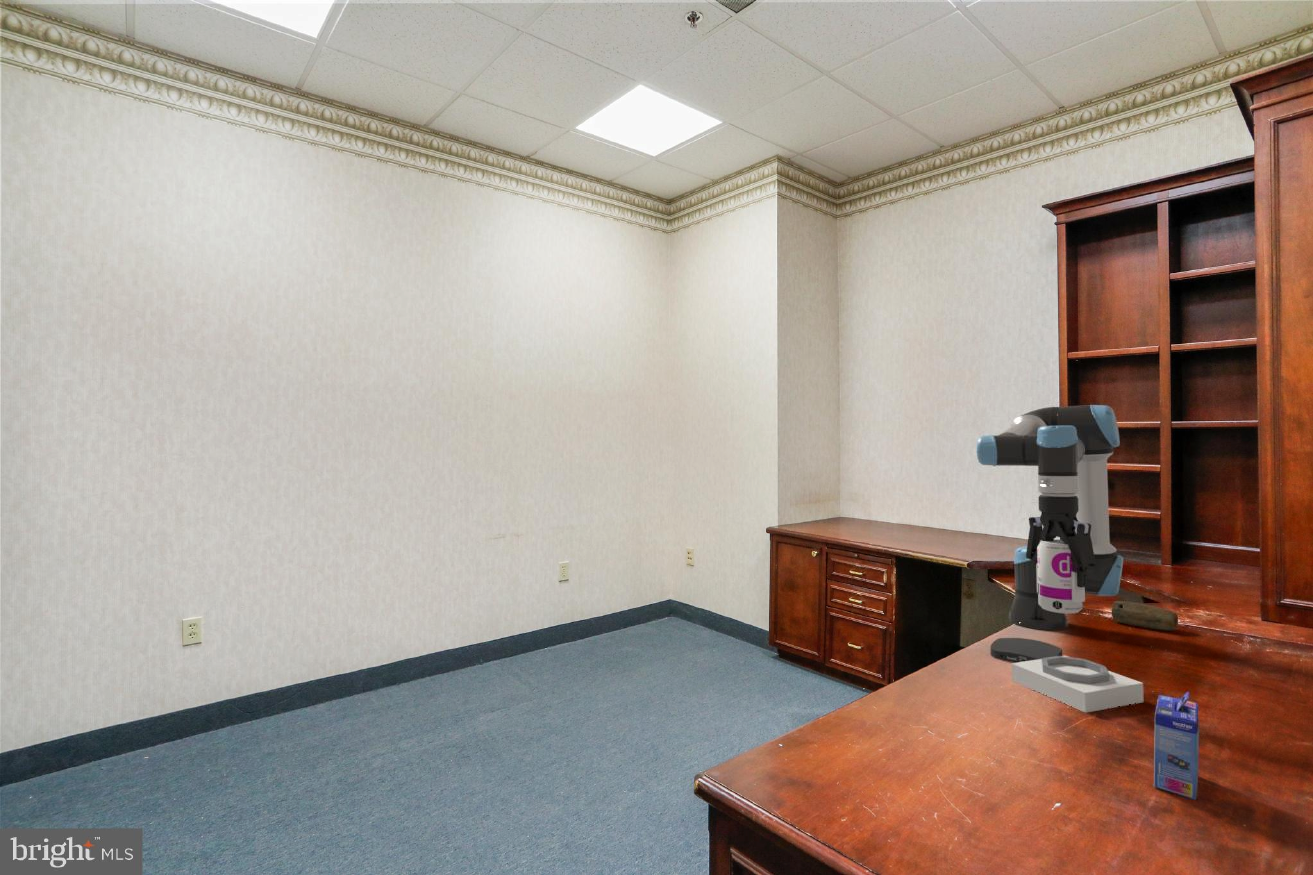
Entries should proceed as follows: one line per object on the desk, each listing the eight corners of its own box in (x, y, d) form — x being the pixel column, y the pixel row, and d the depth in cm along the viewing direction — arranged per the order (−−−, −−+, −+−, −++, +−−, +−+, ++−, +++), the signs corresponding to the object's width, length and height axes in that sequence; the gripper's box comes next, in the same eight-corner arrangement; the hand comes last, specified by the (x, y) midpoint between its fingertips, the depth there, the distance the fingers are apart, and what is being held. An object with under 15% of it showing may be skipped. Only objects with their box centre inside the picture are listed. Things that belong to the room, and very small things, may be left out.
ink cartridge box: (1199, 802, 96) (1197, 706, 96) (1153, 789, 100) (1151, 697, 100) (1200, 775, 104) (1198, 687, 104) (1157, 764, 107) (1155, 679, 107)
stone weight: (1110, 624, 186) (1110, 602, 186) (1115, 619, 191) (1114, 597, 191) (1175, 635, 176) (1175, 611, 176) (1179, 629, 180) (1178, 606, 181)
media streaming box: (1065, 656, 161) (1065, 644, 161) (1052, 671, 151) (1052, 659, 151) (1002, 644, 171) (1002, 633, 171) (986, 658, 161) (986, 646, 161)
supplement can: (1089, 615, 135) (1087, 545, 135) (1046, 613, 137) (1045, 544, 137) (1073, 605, 143) (1071, 539, 143) (1033, 603, 145) (1031, 538, 145)
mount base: (1011, 680, 145) (1011, 656, 145) (1065, 672, 149) (1065, 649, 149) (1085, 712, 127) (1084, 685, 128) (1143, 702, 132) (1142, 675, 132)
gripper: (1006, 491, 149) (1008, 587, 149) (1088, 499, 129) (1091, 610, 129) (1031, 490, 151) (1033, 585, 151) (1116, 497, 131) (1119, 607, 131)
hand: (1060, 596), depth 140 cm, fingers closed on supplement can, 8 cm apart
